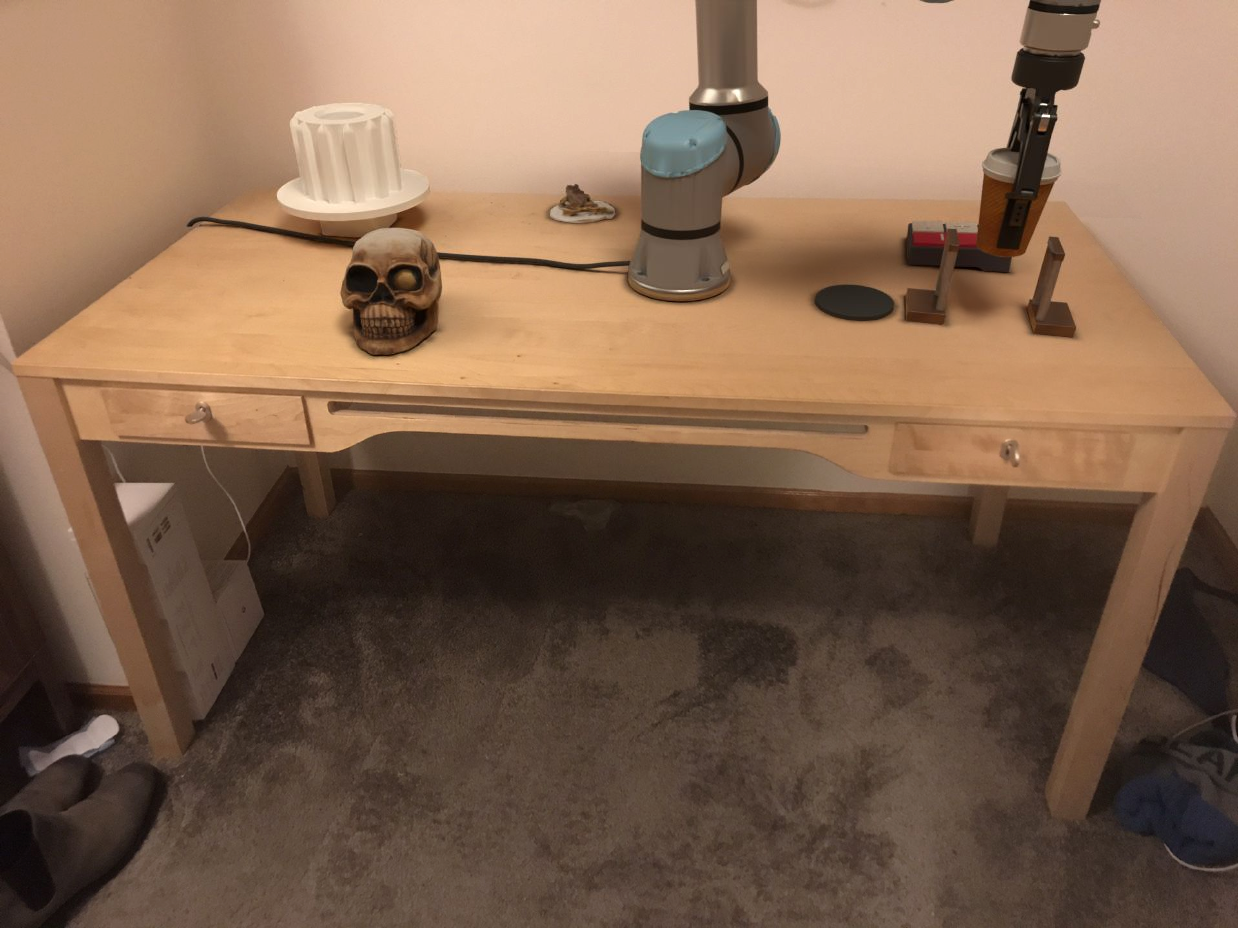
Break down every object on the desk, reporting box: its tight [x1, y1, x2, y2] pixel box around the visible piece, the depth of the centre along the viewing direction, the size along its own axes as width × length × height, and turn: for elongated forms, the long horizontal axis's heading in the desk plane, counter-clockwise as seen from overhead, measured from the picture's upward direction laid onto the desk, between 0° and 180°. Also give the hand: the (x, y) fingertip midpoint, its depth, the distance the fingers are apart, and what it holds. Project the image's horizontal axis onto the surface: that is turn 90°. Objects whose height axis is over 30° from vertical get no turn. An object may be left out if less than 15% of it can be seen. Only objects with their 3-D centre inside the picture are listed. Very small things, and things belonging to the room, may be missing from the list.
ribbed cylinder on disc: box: [276, 101, 431, 239], centre depth 150 cm, size 25×25×19 cm
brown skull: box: [339, 227, 443, 356], centre depth 122 cm, size 16×17×13 cm
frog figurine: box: [549, 183, 616, 224], centre depth 160 cm, size 12×12×4 cm
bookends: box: [905, 229, 1077, 338], centre depth 122 cm, size 22×8×11 cm, turn 76°
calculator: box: [906, 220, 1013, 273], centre depth 142 cm, size 11×4×15 cm
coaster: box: [814, 283, 895, 321], centre depth 129 cm, size 11×11×1 cm
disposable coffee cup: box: [976, 147, 1063, 258], centre depth 116 cm, size 10×10×12 cm
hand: (1003, 235), depth 119 cm, fingers closed on disposable coffee cup, 8 cm apart
